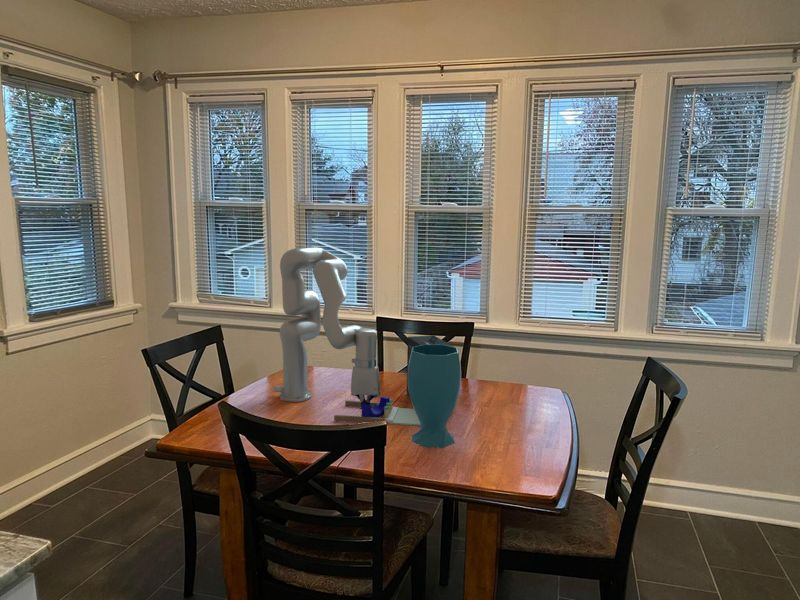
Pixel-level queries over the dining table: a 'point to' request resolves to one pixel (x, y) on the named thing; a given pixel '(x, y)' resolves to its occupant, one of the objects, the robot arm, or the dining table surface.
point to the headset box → (421, 341)
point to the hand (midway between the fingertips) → (365, 411)
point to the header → (390, 415)
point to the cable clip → (375, 408)
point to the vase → (434, 391)
